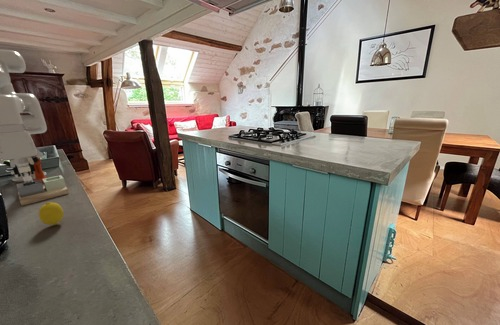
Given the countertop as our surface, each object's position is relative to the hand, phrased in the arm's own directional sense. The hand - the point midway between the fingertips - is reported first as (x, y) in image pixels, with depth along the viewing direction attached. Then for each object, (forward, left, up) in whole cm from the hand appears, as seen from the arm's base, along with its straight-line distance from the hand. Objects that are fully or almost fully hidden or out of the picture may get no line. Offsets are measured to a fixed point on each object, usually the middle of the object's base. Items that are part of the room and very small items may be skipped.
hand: (26, 174), depth 85 cm
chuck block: (0, 0, -8) cm, 8 cm away
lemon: (+30, -19, -10) cm, 36 cm away
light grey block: (0, 0, -6) cm, 6 cm away
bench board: (+2, +2, -10) cm, 10 cm away
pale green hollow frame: (+5, +6, -8) cm, 11 cm away
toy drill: (-11, +13, -10) cm, 20 cm away
